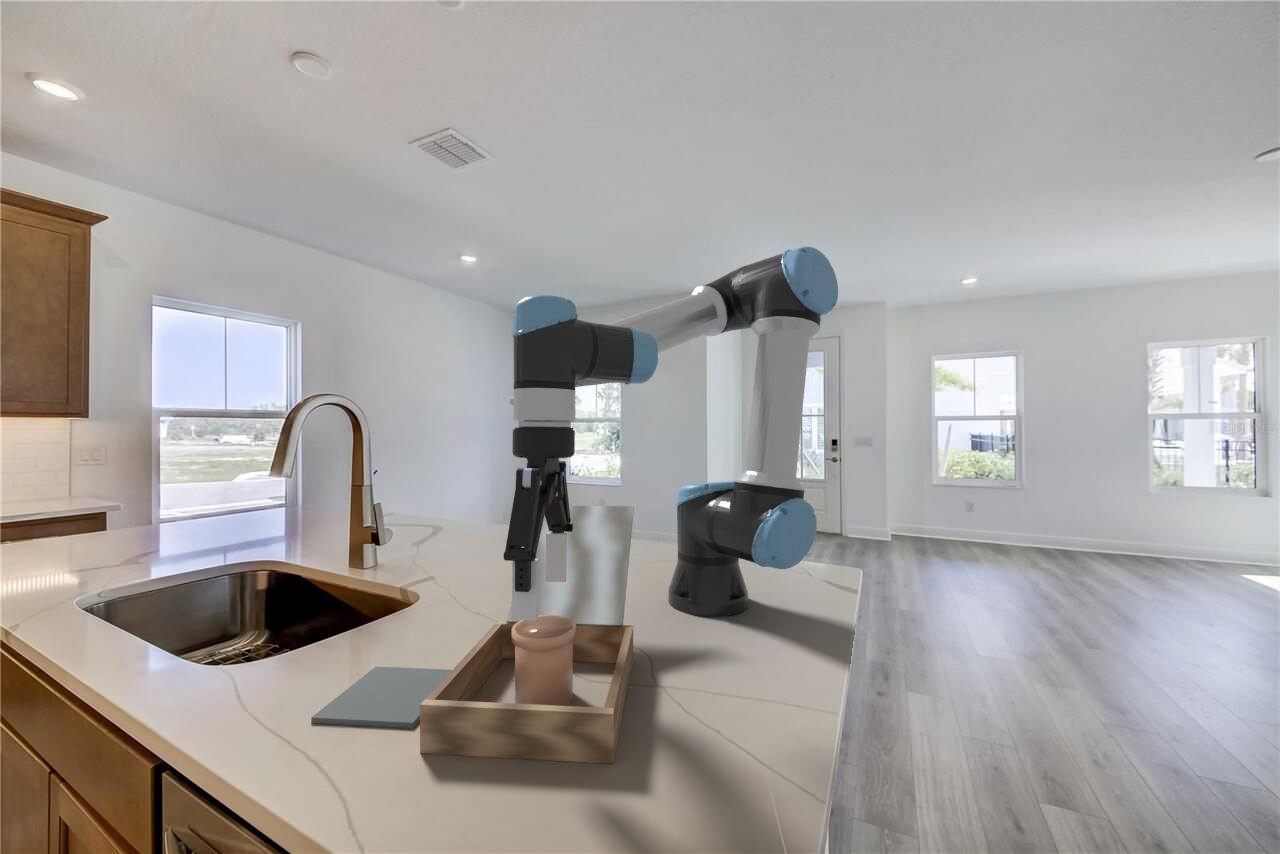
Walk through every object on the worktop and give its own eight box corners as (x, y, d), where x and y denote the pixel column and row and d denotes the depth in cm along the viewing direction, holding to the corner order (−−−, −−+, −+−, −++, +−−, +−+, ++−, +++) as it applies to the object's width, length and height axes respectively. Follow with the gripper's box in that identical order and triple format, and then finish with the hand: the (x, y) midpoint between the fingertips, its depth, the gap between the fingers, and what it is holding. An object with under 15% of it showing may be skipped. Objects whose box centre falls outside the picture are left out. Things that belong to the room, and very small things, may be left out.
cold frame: (642, 616, 88) (642, 506, 88) (612, 763, 50) (612, 569, 50) (531, 612, 90) (531, 504, 90) (420, 753, 51) (419, 564, 51)
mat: (460, 674, 68) (460, 670, 68) (412, 728, 56) (412, 722, 56) (375, 670, 69) (375, 666, 69) (311, 722, 57) (311, 717, 57)
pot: (581, 684, 65) (581, 615, 65) (568, 719, 57) (568, 641, 57) (523, 681, 66) (523, 613, 66) (502, 716, 58) (502, 638, 58)
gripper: (542, 425, 74) (540, 568, 74) (472, 423, 49) (470, 639, 49) (592, 426, 74) (590, 570, 74) (547, 424, 49) (544, 642, 49)
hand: (542, 598), depth 61 cm, fingers open, 13 cm apart
